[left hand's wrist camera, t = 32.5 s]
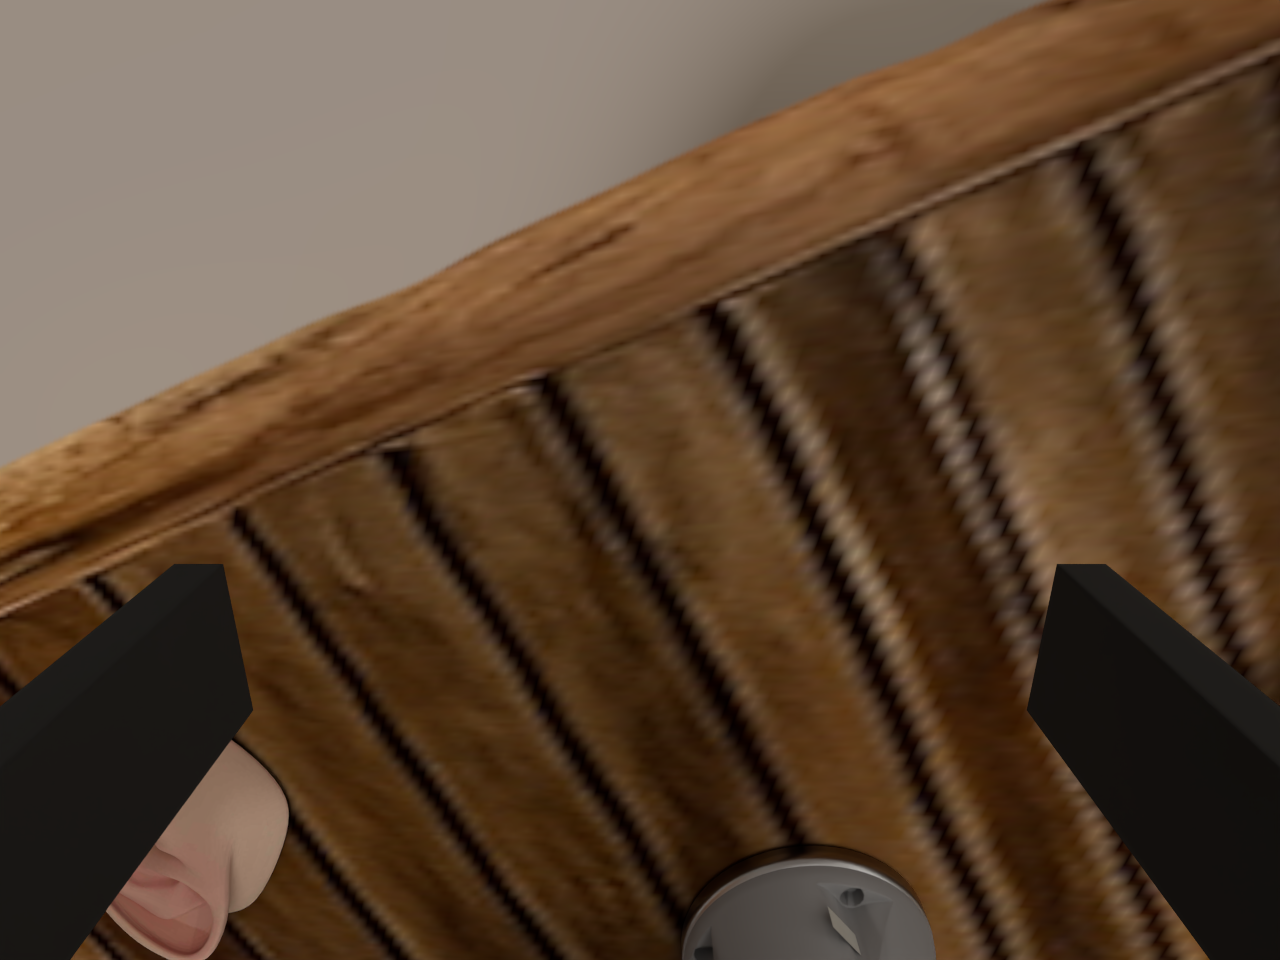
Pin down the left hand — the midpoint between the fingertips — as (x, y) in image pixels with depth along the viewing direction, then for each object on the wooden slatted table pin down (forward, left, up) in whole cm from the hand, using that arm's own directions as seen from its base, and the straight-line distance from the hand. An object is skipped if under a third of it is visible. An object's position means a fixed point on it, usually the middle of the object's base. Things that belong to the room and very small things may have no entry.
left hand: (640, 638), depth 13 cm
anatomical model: (-12, +36, -25) cm, 46 cm away
